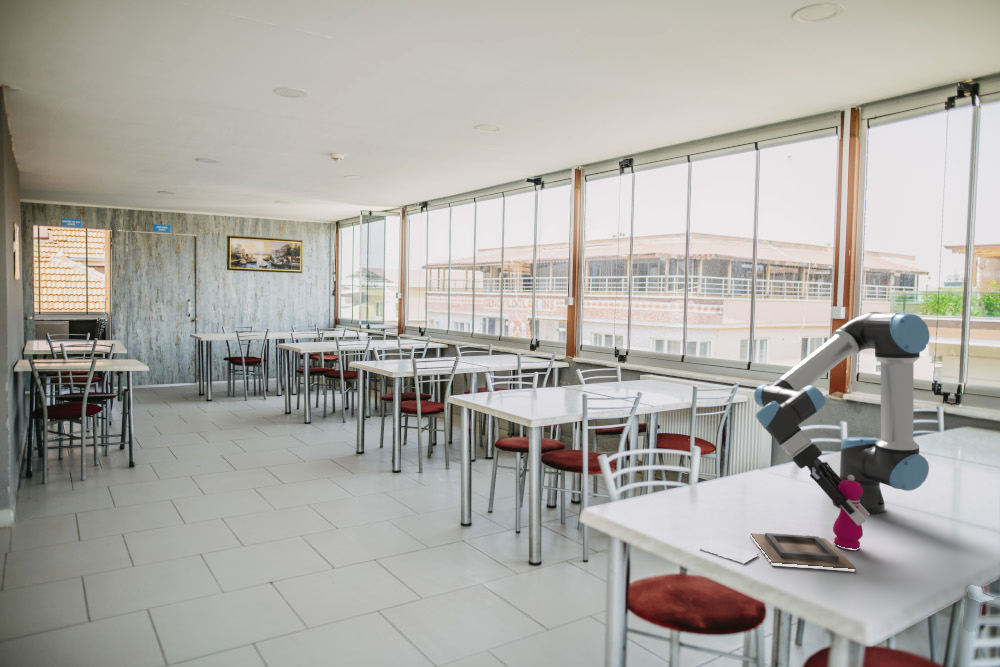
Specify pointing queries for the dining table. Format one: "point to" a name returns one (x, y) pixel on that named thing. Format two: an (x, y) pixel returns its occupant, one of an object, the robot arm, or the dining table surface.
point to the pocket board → (801, 550)
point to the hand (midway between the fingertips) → (863, 519)
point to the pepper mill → (844, 524)
